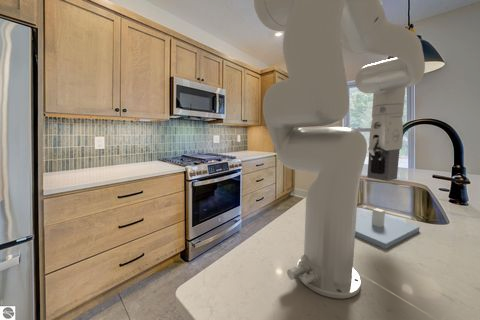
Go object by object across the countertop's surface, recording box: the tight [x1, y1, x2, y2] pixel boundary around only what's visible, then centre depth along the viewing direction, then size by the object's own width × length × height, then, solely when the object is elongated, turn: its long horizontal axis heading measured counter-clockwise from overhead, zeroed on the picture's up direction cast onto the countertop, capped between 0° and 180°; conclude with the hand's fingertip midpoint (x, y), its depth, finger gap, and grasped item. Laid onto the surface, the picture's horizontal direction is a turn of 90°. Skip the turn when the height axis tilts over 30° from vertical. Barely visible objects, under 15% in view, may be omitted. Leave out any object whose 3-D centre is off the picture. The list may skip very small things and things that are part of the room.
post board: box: [355, 207, 420, 250], centre depth 63 cm, size 20×14×6 cm
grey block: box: [366, 149, 401, 182], centre depth 61 cm, size 6×6×9 cm
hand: (382, 171), depth 61 cm, fingers closed on grey block, 5 cm apart
